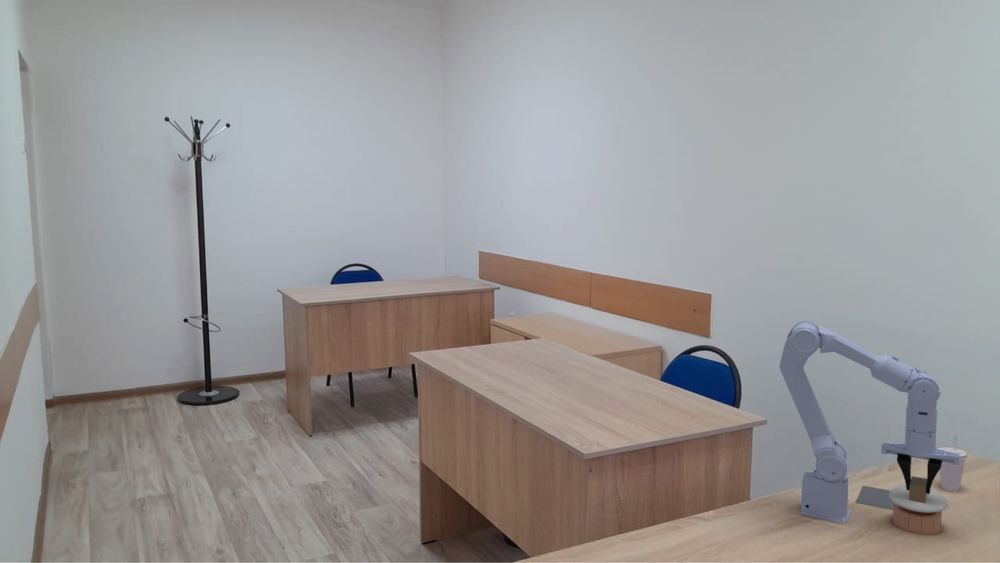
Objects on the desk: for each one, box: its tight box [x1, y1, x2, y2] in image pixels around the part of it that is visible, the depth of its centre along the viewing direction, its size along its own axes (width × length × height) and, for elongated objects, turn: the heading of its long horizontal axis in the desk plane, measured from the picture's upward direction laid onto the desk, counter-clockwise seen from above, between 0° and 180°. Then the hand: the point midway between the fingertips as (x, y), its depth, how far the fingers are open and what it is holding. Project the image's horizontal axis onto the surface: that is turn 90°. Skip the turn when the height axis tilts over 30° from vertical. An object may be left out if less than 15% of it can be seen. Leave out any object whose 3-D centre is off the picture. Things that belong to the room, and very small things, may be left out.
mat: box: [855, 485, 894, 511], centre depth 172 cm, size 12×12×1 cm
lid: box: [889, 475, 949, 512], centre depth 157 cm, size 11×11×4 cm
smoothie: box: [937, 433, 968, 492], centre depth 177 cm, size 6×6×14 cm
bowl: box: [892, 503, 943, 535], centre depth 158 cm, size 9×9×4 cm
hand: (918, 490), depth 157 cm, fingers closed on lid, 3 cm apart
